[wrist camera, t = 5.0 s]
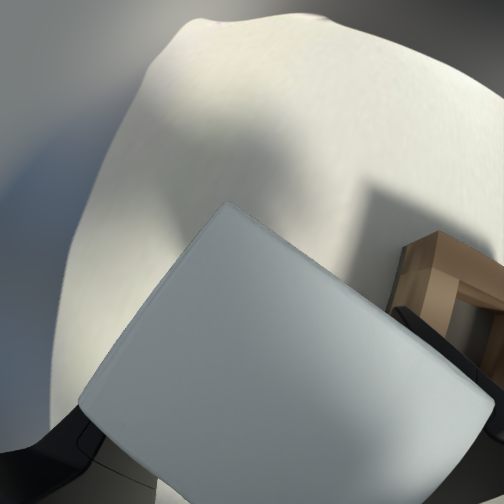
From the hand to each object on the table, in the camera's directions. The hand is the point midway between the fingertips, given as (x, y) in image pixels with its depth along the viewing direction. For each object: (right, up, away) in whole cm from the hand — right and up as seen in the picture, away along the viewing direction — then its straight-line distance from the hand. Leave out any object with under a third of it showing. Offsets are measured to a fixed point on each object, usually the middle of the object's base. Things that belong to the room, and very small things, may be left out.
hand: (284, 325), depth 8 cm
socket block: (+14, -6, +8) cm, 17 cm away
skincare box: (0, -3, +6) cm, 7 cm away
